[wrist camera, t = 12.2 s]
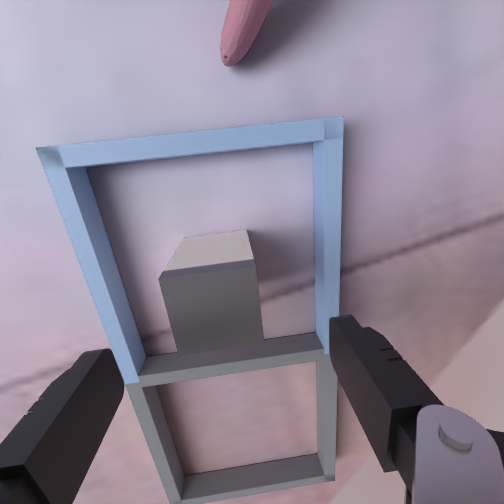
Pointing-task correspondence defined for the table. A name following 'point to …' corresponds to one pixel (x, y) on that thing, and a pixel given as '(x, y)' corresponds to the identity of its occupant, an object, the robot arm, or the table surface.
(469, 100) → the table surface
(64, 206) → the two-cell open frame
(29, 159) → the table surface
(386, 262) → the table surface
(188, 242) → the grey rectangular block
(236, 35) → the video game controller
